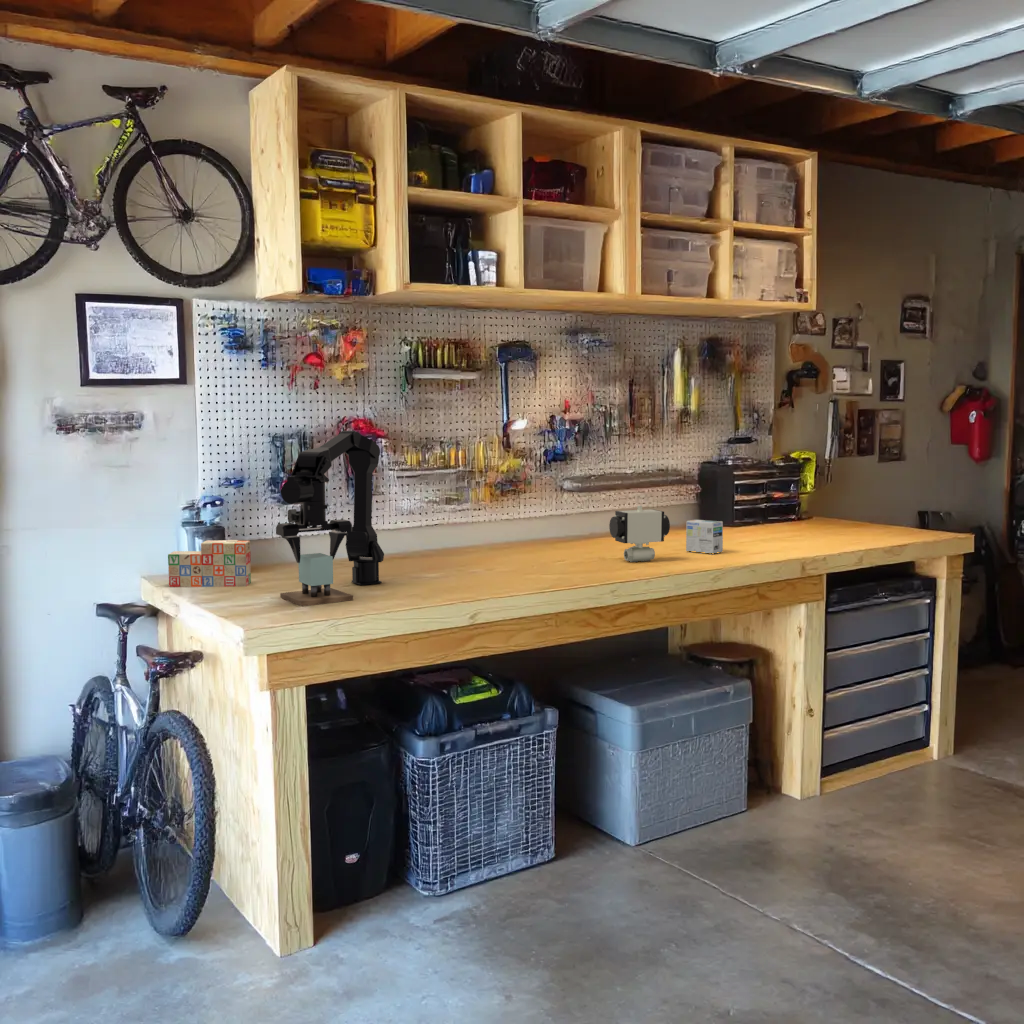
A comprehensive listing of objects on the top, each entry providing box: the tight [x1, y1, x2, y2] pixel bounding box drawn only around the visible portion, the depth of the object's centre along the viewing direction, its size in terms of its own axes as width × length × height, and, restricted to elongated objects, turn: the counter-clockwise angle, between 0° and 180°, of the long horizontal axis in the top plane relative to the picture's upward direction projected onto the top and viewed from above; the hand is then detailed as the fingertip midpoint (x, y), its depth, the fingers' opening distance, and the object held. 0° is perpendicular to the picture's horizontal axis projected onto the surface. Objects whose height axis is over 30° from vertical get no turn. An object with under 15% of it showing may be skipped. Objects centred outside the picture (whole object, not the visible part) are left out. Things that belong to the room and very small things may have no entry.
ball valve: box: [608, 505, 671, 563], centre depth 322 cm, size 18×8×18 cm, turn 108°
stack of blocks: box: [167, 539, 252, 588], centre depth 282 cm, size 21×6×12 cm, turn 93°
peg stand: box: [279, 583, 354, 607], centre depth 260 cm, size 14×14×4 cm
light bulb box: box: [685, 519, 724, 553], centre depth 341 cm, size 11×7×11 cm, turn 49°
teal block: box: [297, 552, 334, 587], centre depth 260 cm, size 6×8×7 cm
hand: (315, 561), depth 260 cm, fingers open, 9 cm apart
